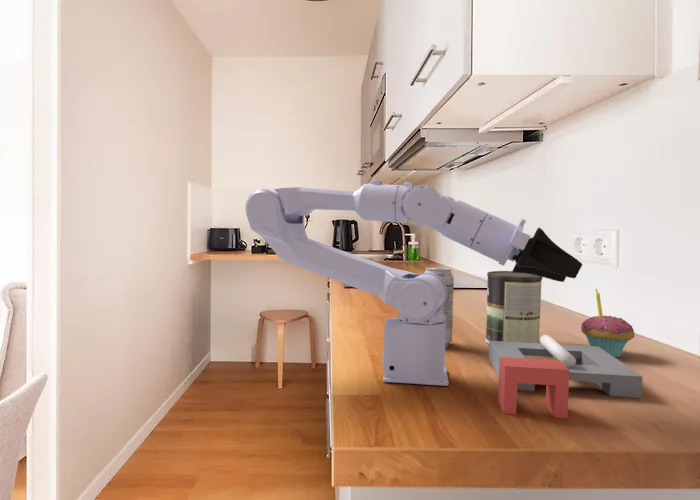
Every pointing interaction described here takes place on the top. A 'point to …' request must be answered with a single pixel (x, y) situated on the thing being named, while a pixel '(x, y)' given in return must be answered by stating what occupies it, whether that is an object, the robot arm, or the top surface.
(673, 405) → the top surface
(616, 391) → the grey frame with dowel
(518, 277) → the coffee can
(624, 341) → the cupcake
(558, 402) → the red arch block
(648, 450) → the top surface
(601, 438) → the top surface
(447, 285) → the energy drink can
